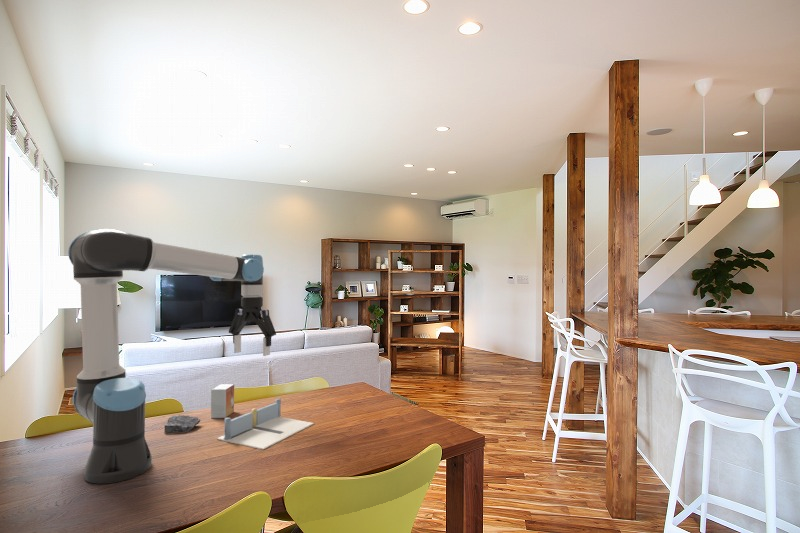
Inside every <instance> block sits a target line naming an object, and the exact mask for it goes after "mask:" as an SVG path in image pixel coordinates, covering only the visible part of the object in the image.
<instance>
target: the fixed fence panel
mask: <svg viewBox="0 0 800 533" xmlns="http://www.w3.org/2000/svg"><path fill="white" fill-rule="evenodd" d="M251 428H252V412H247V413H245V414H241V415H239V416H236V417H234V418H231V417H226V418H224V435H225V438H224V439H225V440H229V439H230V438H231V437H232V436H235V435H237V434H239V433H241V432H244V431H246V430H248V429H251Z"/></svg>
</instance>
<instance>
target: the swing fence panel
mask: <svg viewBox="0 0 800 533" xmlns="http://www.w3.org/2000/svg"><path fill="white" fill-rule="evenodd" d="M281 402H282V401H281V398H276V399H275V402H273V403H271V404H268V405H265V406H263V407H260V408H256V407H255V408H251V413H252V427H256V426H258V425H260V424H262V423H265V422H267V421H269V420H272V419H274V418H276V417H282V416H281V411H282V410H281V408H282V406H281Z"/></svg>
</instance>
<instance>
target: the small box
mask: <svg viewBox="0 0 800 533" xmlns="http://www.w3.org/2000/svg"><path fill="white" fill-rule="evenodd" d="M210 393H211V395H210V419H225V418H228V417H229V416H230V415H231V414H233V413H234V412H235V384H233V383H232V384H231V383H229V384H226V383H223V384H221V383H220V384H218V385H217V386H216V387H214V388H212V389H211V390H210Z"/></svg>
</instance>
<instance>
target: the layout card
mask: <svg viewBox="0 0 800 533" xmlns="http://www.w3.org/2000/svg"><path fill="white" fill-rule="evenodd" d="M313 425H314V422H311V421H305V420H304V421H303V420H299V419H295V418H288V417H282V416H280V417H276V418H274V419H272V420H269V421H267V422H265V423H262V424H260V425H258V426H256V427H252V428H251V429H248V430H246V431H244V432H241V433H239V434H237V435H235V436H232V437H231V438H230V439H229V440H225V439H224V438H225V434H224V435H221V436H218V437H217V438H216V440H218V441H222V442H227V443H231V444H236V445H240V446H244V447H249V448H253V449H254V448H255V449H257V450H261V451H262V450H265V449H268V448H270V447H272V446H273V445H275V444H277V443H279V442H282V441H283V440H285V439H287V438H289V437H291V436H293V435H295V434H297V433H299V432H301V431H303V430H305V429H307V428H309V427H311V426H313Z"/></svg>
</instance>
